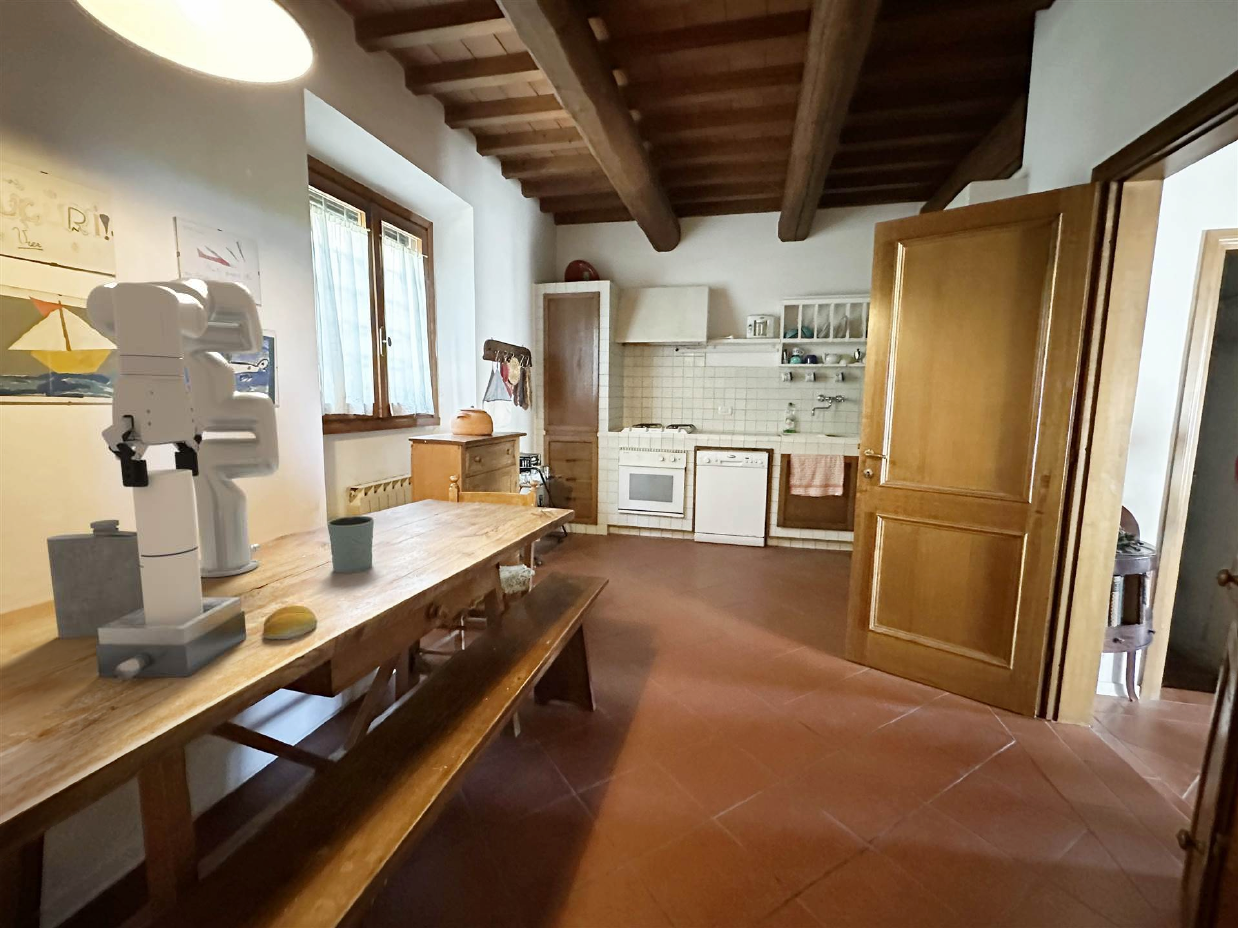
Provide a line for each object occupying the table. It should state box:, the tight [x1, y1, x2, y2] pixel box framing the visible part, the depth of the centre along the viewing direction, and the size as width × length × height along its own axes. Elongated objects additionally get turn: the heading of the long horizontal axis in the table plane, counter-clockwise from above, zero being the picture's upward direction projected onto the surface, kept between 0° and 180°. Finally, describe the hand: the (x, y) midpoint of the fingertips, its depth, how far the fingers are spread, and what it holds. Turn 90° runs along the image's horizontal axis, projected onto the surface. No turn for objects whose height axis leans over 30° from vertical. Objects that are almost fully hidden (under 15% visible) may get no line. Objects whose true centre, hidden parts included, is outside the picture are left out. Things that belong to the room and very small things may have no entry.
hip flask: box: [46, 519, 144, 640], centre depth 93 cm, size 16×4×20 cm, turn 99°
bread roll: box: [262, 605, 318, 640], centre depth 96 cm, size 8×9×4 cm
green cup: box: [327, 515, 375, 574], centre depth 130 cm, size 10×10×12 cm
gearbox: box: [95, 596, 247, 681], centre depth 84 cm, size 16×13×8 cm
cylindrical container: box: [132, 468, 203, 625], centre depth 84 cm, size 7×7×25 cm
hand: (163, 481), depth 82 cm, fingers open, 9 cm apart
